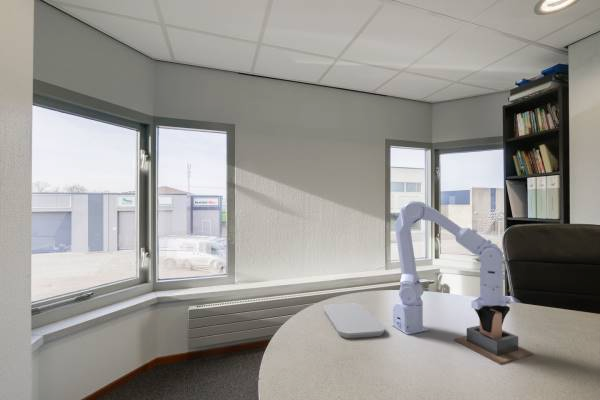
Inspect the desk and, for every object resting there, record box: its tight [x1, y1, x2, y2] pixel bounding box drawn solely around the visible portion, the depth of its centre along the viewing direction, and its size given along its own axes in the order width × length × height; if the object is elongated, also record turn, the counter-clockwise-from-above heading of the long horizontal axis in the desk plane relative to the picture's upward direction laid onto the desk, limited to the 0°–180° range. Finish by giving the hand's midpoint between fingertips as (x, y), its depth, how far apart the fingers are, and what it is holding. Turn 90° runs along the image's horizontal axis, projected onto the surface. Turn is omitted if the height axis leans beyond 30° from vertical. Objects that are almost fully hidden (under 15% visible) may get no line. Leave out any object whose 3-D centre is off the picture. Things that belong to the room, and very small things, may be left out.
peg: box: [479, 309, 503, 339], centre depth 84 cm, size 4×4×8 cm
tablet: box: [322, 302, 386, 339], centre depth 101 cm, size 16×26×2 cm, turn 9°
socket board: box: [454, 324, 534, 365], centre depth 83 cm, size 14×14×4 cm
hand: (491, 329), depth 83 cm, fingers closed on peg, 4 cm apart
